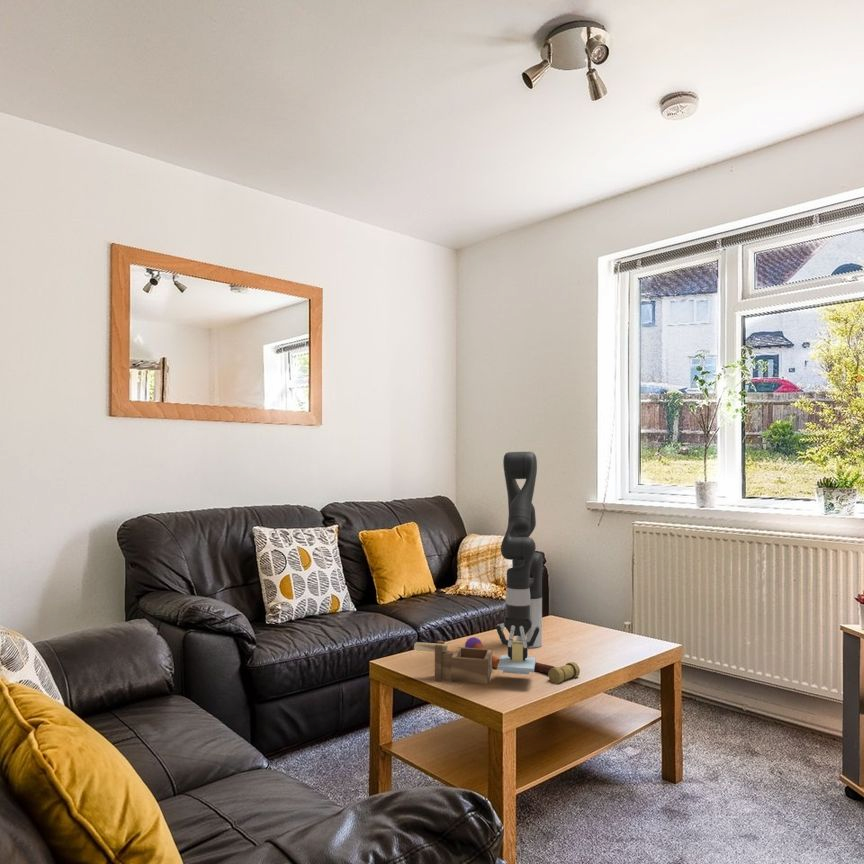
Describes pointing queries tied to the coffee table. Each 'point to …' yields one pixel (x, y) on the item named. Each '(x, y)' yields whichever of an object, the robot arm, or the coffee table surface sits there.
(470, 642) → the kendama
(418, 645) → the beige wooden bar
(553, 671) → the gavel
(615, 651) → the coffee table surface
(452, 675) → the toolbox
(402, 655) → the coffee table surface
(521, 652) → the lid
